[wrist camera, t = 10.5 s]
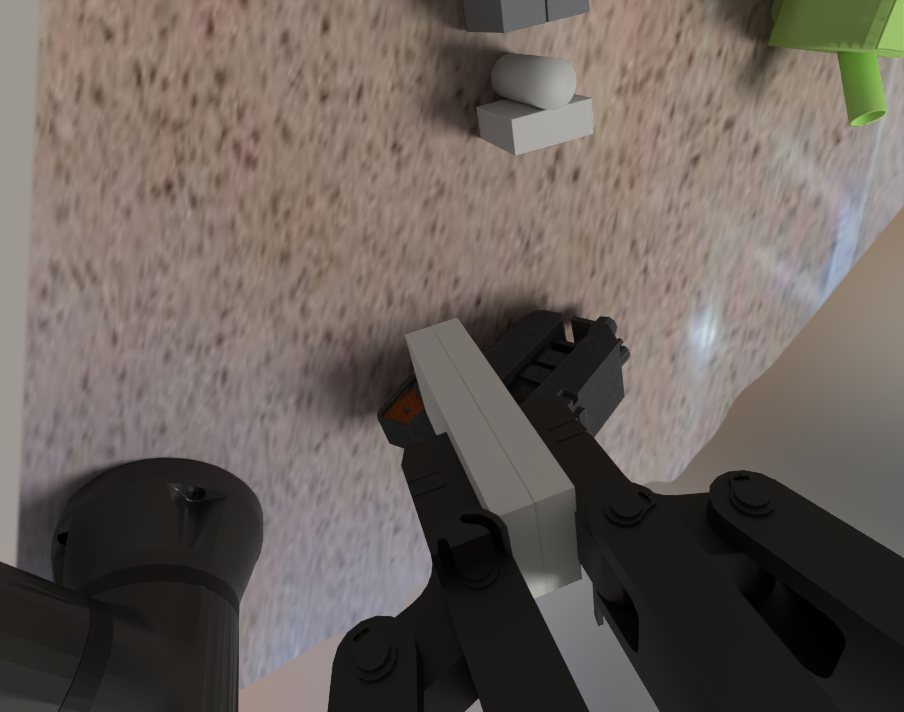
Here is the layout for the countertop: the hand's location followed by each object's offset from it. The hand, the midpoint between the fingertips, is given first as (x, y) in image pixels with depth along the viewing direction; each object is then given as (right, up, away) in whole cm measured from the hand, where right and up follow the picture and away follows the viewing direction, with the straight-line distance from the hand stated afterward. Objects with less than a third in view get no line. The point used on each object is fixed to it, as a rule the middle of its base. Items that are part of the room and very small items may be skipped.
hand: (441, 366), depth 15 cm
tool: (+3, 0, +31) cm, 32 cm away
